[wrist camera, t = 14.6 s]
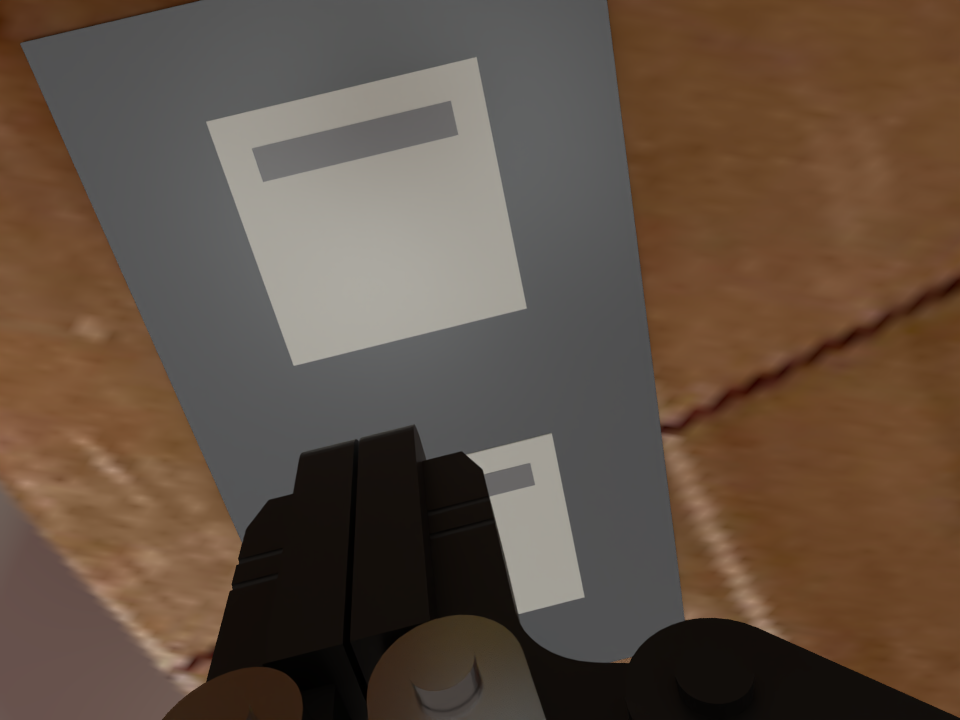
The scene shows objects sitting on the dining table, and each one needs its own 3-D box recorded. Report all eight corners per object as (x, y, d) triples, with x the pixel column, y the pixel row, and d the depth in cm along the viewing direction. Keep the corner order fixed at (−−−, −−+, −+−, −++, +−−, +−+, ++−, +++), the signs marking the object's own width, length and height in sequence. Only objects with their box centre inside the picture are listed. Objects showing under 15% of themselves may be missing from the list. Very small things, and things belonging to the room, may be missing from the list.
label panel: (593, -92, 21) (595, -93, 20) (685, 638, 33) (687, 643, 32) (23, 42, 20) (19, 43, 20) (328, 731, 32) (327, 736, 32)
